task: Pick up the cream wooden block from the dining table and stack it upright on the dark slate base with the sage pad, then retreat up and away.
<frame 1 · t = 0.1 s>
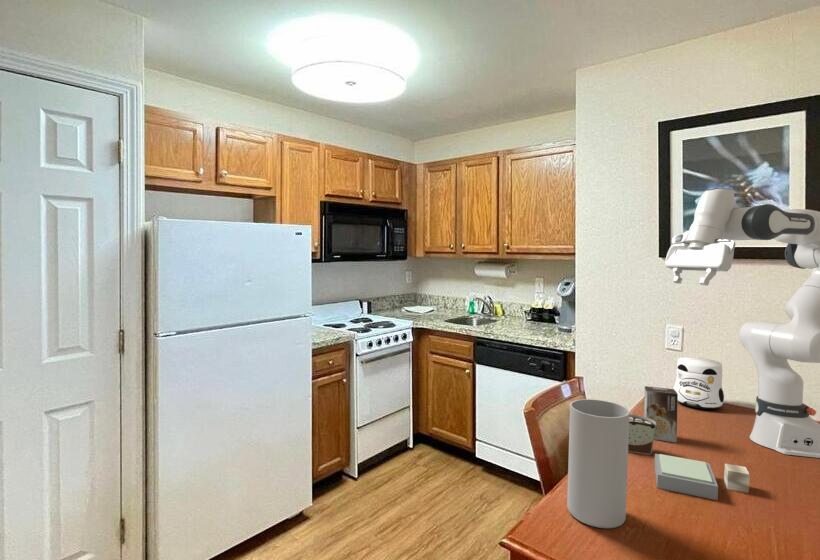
hand: (689, 283, 132), 52 cm above the table, tool tilted 20°, fingers open, 8 cm apart
cylinder vase: (595, 514, 103), on the table
milk container: (697, 405, 182), on the table
cream block: (736, 487, 116), on the table
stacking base: (683, 481, 119), on the table
food container: (632, 449, 139), on the table
coffee box: (659, 437, 148), on the table
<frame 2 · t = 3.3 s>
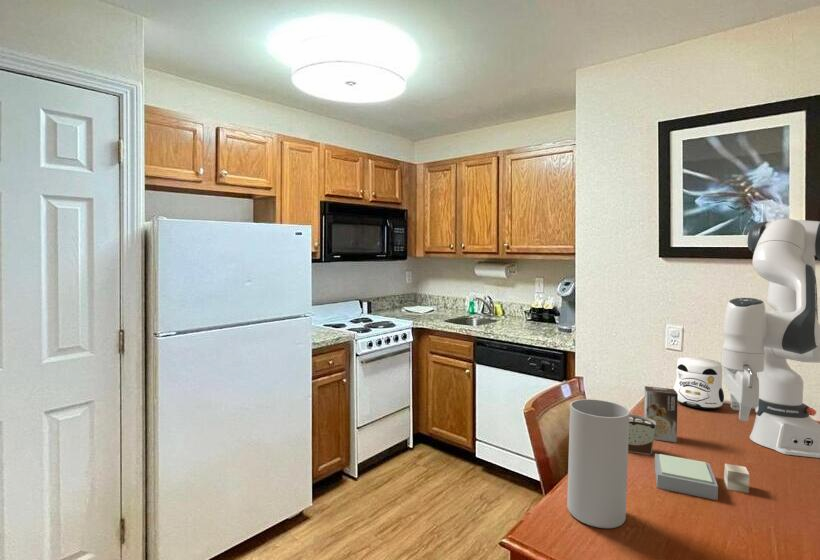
hand: (739, 414, 115), 19 cm above the table, tool pointing down, fingers open, 8 cm apart
nothing on the table moved.
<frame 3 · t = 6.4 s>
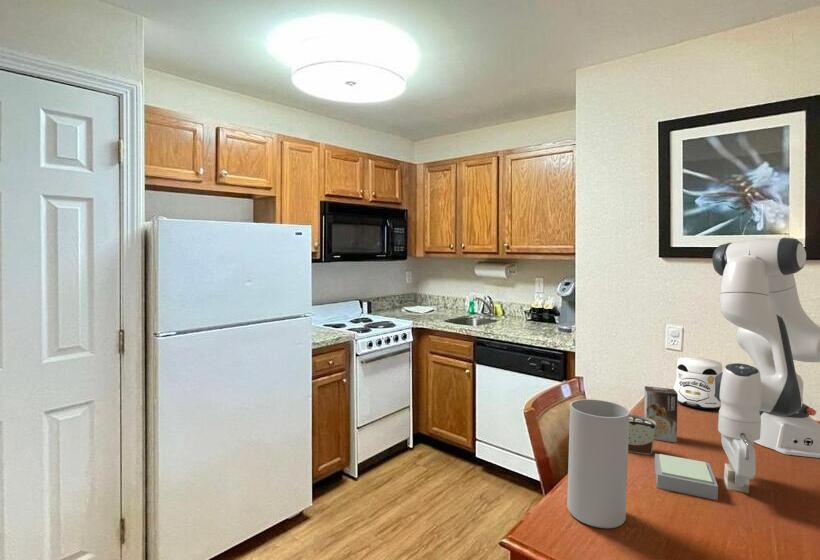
hand: (736, 479, 116), 2 cm above the table, tool pointing down, fingers closed on cream block, 4 cm apart
cream block: (735, 487, 116), on the table, touching gripper
everything else where it was.
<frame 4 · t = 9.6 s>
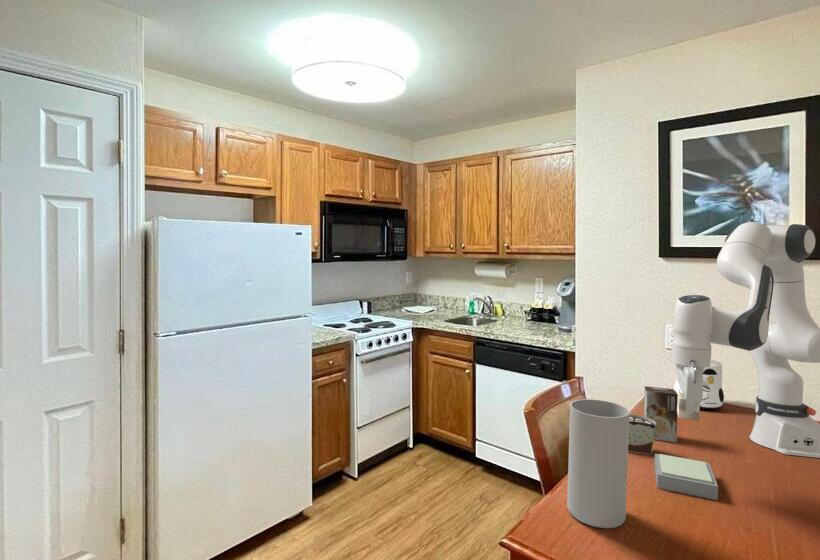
hand: (687, 409, 118), 20 cm above the table, tool pointing down, fingers closed on cream block, 4 cm apart
cream block: (687, 416, 118), point 18 cm above the table, touching gripper
everything else where it was.
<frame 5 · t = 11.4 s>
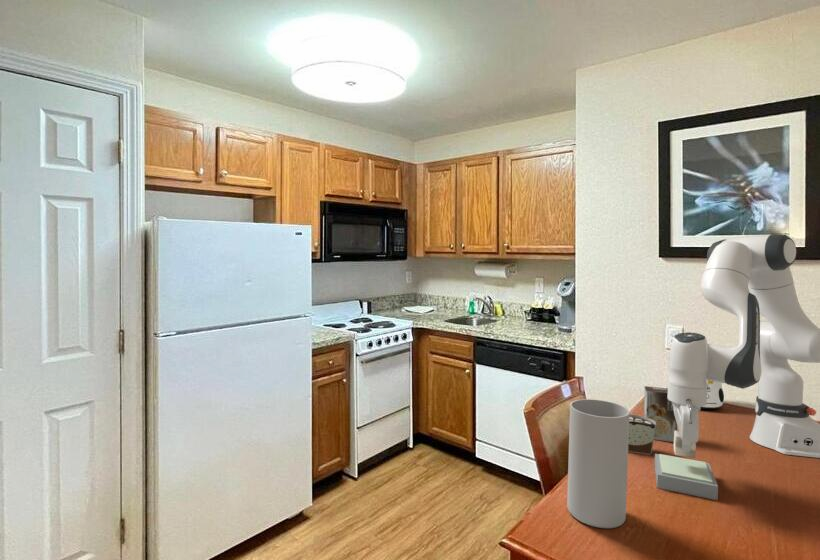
hand: (684, 446, 118), 10 cm above the table, tool pointing down, fingers closed on cream block, 4 cm apart
cream block: (684, 453, 118), point 8 cm above the table, touching gripper
everything else where it was.
when the fingers open (7 cm above the table, at t = 12.7 s): cream block drops 1 cm, resting on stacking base.
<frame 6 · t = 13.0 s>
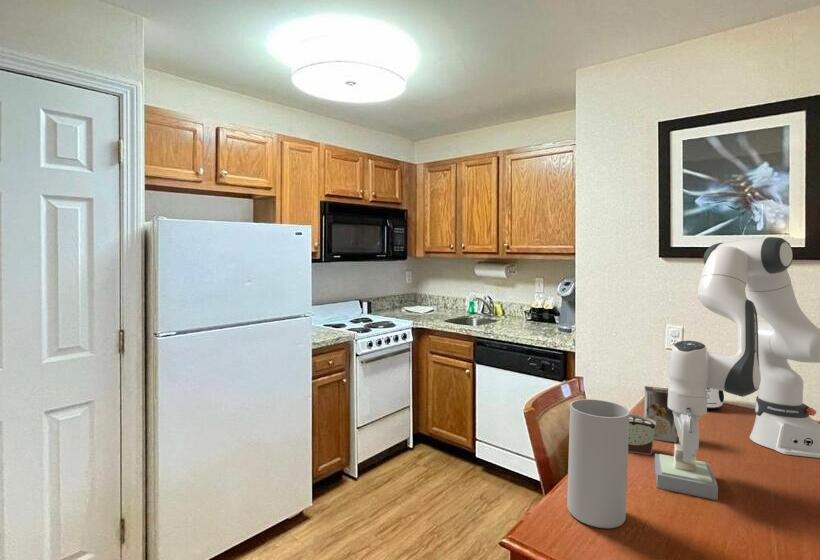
hand: (684, 454, 118), 7 cm above the table, tool pointing down, fingers open, 8 cm apart
cream block: (684, 466, 119), point 4 cm above the table, touching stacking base
everything else where it was.
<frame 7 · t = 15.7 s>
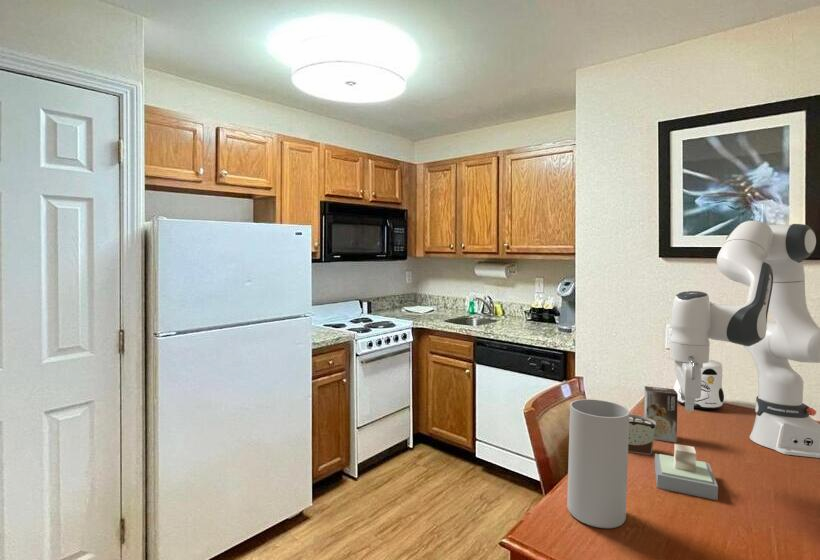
hand: (686, 405, 118), 21 cm above the table, tool pointing down, fingers open, 8 cm apart
nothing on the table moved.
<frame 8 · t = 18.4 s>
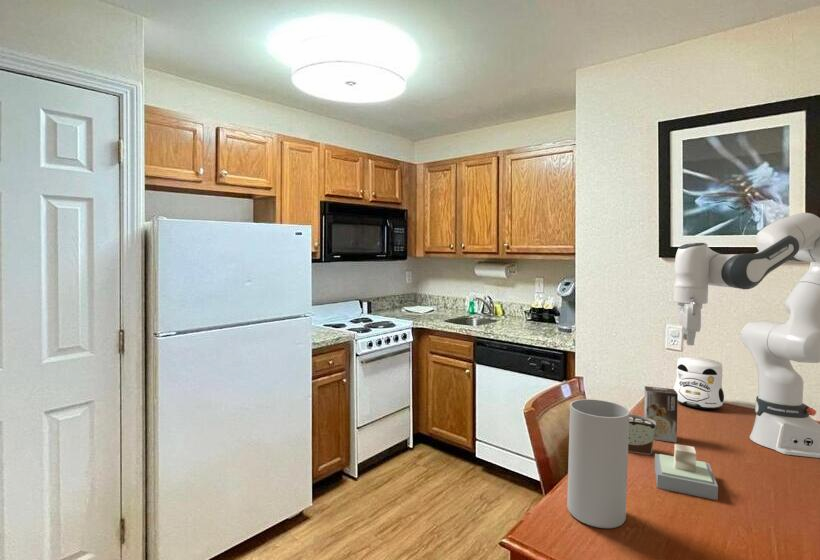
hand: (688, 342, 135), 34 cm above the table, tool pointing down, fingers open, 8 cm apart
nothing on the table moved.
at the end: cream block inside the target area on the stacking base (0.0 cm from its centre), point 4.0 cm above the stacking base's base; cream block tilted 0°; the gripper is holding nothing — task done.
